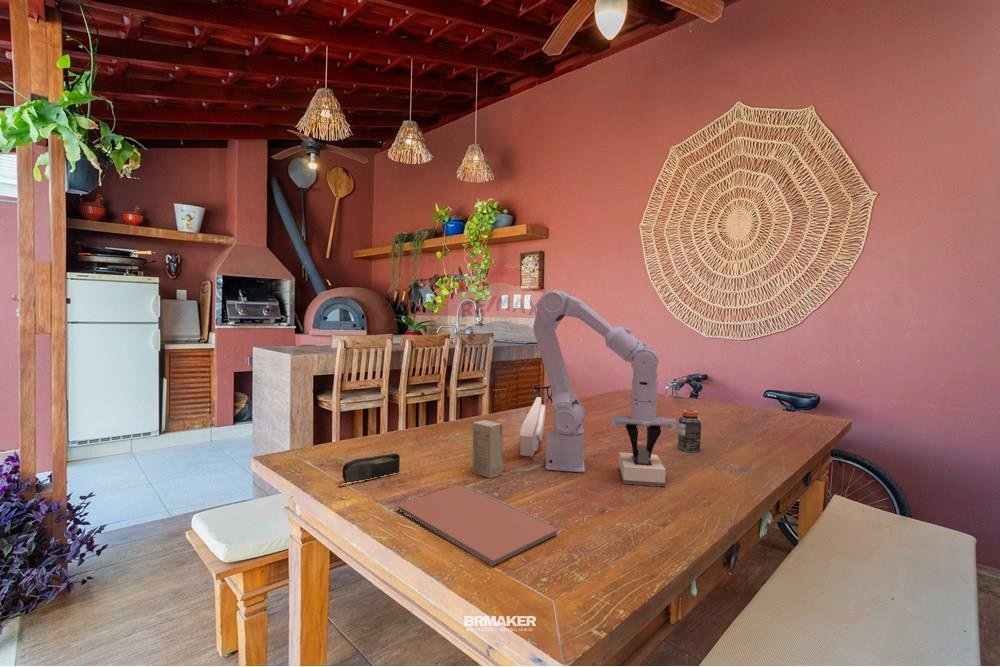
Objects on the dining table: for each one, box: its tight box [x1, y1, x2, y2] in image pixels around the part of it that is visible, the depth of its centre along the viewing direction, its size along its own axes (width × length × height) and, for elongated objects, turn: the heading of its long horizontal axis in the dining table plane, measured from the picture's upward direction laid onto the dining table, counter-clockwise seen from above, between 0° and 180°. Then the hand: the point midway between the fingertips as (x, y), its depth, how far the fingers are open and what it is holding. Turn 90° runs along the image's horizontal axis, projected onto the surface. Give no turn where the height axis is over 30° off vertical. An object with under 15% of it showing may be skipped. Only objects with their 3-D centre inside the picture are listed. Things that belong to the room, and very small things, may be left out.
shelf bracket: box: [519, 396, 546, 457], centre depth 138 cm, size 6×25×13 cm, turn 168°
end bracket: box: [635, 444, 649, 465], centre depth 115 cm, size 2×5×6 cm, turn 172°
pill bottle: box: [677, 408, 702, 453], centre depth 138 cm, size 6×6×11 cm
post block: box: [618, 452, 667, 487], centre depth 115 cm, size 9×11×4 cm
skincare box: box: [472, 419, 504, 479], centre depth 115 cm, size 6×4×12 cm
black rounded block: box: [342, 453, 401, 483], centre depth 110 cm, size 5×3×15 cm
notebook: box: [396, 484, 560, 567], centre depth 90 cm, size 27×17×2 cm, turn 44°
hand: (641, 456), depth 115 cm, fingers closed on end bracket, 2 cm apart
